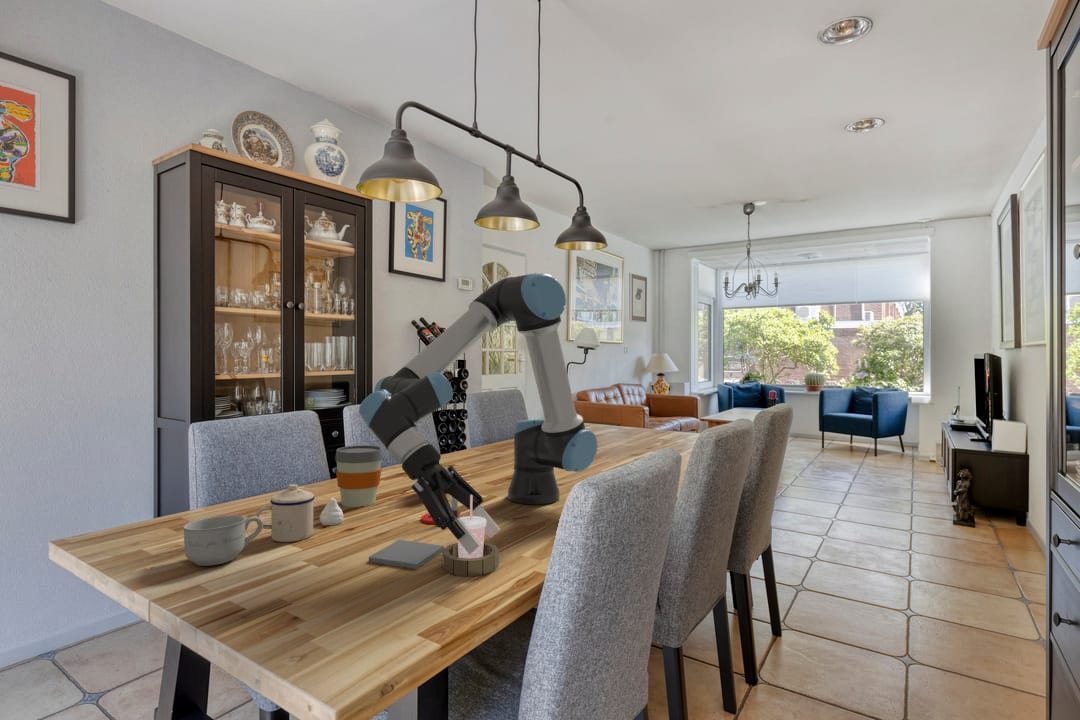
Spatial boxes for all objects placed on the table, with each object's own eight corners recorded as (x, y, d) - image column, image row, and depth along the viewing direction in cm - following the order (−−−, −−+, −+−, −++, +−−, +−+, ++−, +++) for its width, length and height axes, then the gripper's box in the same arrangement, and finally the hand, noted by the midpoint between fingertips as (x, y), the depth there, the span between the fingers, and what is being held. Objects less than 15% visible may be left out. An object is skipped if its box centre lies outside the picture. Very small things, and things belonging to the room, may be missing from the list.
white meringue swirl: (347, 499, 135) (324, 502, 131) (346, 523, 135) (324, 527, 131) (338, 494, 139) (316, 498, 135) (338, 518, 139) (316, 522, 135)
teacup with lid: (312, 528, 131) (313, 479, 131) (315, 539, 122) (316, 487, 122) (256, 534, 125) (256, 483, 125) (254, 547, 117) (255, 492, 117)
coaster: (399, 544, 121) (399, 539, 120) (444, 550, 117) (444, 545, 117) (368, 561, 110) (368, 556, 110) (416, 569, 107) (416, 564, 107)
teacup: (179, 575, 102) (180, 532, 102) (186, 555, 112) (186, 516, 112) (263, 563, 109) (263, 522, 109) (262, 545, 118) (263, 508, 118)
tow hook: (417, 525, 135) (454, 525, 135) (415, 473, 135) (453, 472, 135) (426, 516, 144) (461, 515, 143) (424, 466, 143) (459, 465, 143)
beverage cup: (448, 568, 107) (449, 496, 107) (465, 557, 113) (466, 489, 113) (475, 573, 105) (477, 500, 105) (491, 562, 111) (492, 493, 110)
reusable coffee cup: (363, 494, 162) (364, 443, 162) (391, 501, 155) (392, 448, 154) (325, 503, 152) (325, 449, 152) (353, 511, 144) (353, 454, 144)
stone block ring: (473, 551, 117) (474, 537, 117) (509, 565, 109) (509, 550, 109) (431, 565, 109) (431, 550, 109) (466, 581, 101) (466, 565, 101)
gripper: (430, 457, 124) (494, 536, 119) (372, 477, 103) (447, 573, 98) (452, 435, 122) (518, 514, 117) (397, 451, 102) (474, 547, 97)
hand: (485, 541), depth 108 cm, fingers open, 9 cm apart
